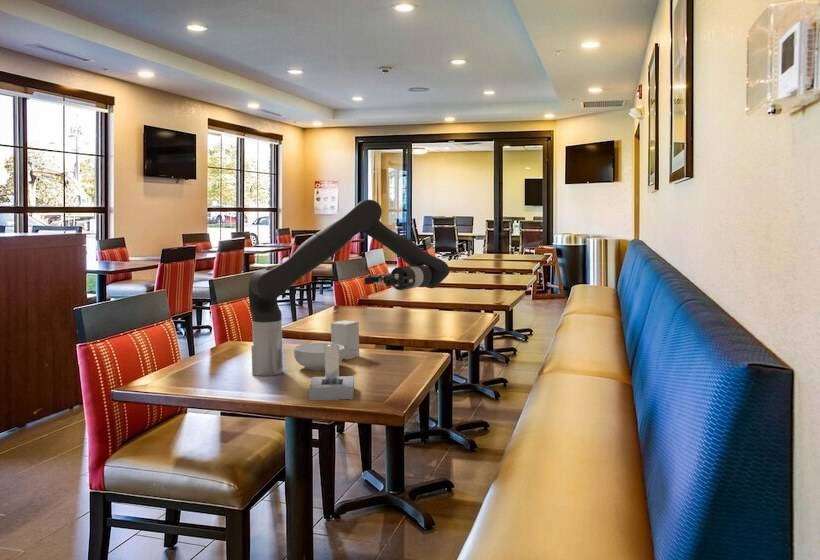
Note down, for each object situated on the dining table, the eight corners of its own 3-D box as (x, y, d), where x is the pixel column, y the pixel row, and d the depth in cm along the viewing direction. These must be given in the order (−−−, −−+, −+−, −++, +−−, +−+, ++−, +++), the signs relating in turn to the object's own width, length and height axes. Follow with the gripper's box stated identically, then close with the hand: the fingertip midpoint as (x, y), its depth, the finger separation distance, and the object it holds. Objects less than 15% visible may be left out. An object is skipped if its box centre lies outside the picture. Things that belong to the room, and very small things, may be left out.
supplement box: (360, 356, 234) (359, 321, 233) (347, 360, 228) (346, 324, 227) (343, 353, 238) (343, 319, 237) (330, 357, 232) (330, 322, 231)
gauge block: (309, 400, 179) (308, 387, 179) (312, 388, 191) (312, 376, 191) (352, 399, 180) (352, 387, 179) (353, 387, 192) (353, 376, 191)
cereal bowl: (349, 371, 211) (348, 350, 210) (297, 375, 206) (297, 353, 206) (339, 360, 227) (339, 340, 226) (291, 364, 223) (291, 343, 222)
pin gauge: (325, 395, 183) (324, 347, 182) (325, 391, 187) (324, 344, 186) (339, 395, 184) (338, 346, 182) (339, 391, 188) (338, 343, 186)
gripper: (390, 265, 218) (358, 268, 205) (424, 267, 210) (393, 271, 197) (390, 287, 219) (358, 292, 206) (424, 290, 211) (394, 295, 198)
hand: (375, 281), depth 201 cm, fingers open, 8 cm apart
